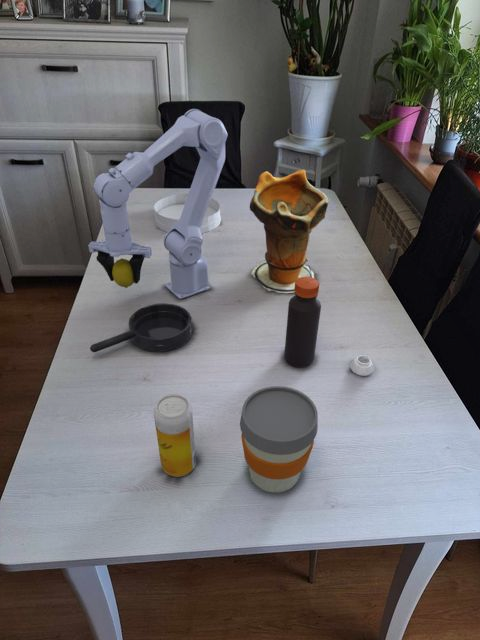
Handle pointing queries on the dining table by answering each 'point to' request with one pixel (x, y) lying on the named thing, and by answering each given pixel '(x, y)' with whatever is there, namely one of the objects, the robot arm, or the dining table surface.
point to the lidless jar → (362, 365)
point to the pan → (161, 327)
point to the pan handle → (111, 341)
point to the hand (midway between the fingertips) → (125, 280)
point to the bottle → (302, 323)
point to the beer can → (175, 435)
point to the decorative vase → (286, 227)
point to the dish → (172, 209)
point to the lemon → (123, 273)
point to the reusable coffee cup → (277, 436)
